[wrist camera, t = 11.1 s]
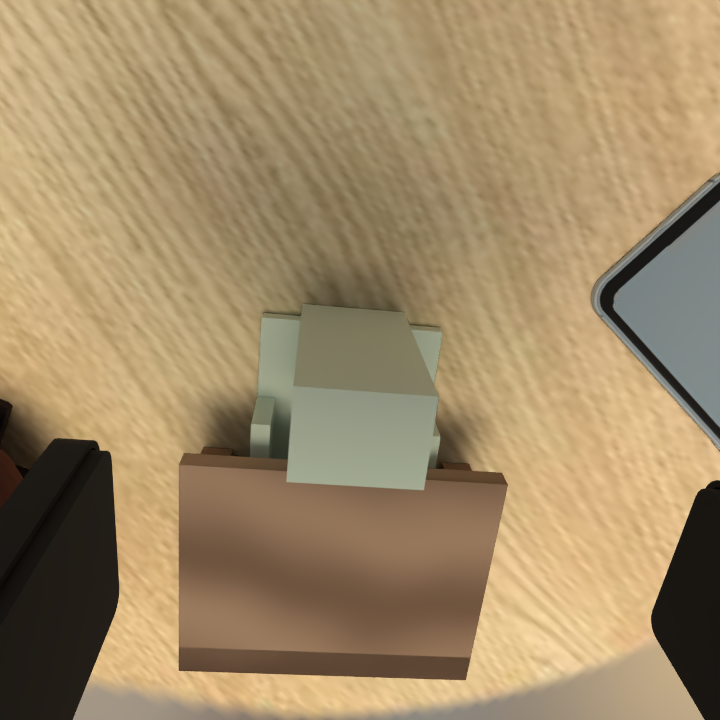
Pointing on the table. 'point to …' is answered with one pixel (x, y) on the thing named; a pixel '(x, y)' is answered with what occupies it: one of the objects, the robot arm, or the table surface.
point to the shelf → (331, 570)
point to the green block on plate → (348, 397)
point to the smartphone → (674, 305)
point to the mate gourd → (8, 460)
